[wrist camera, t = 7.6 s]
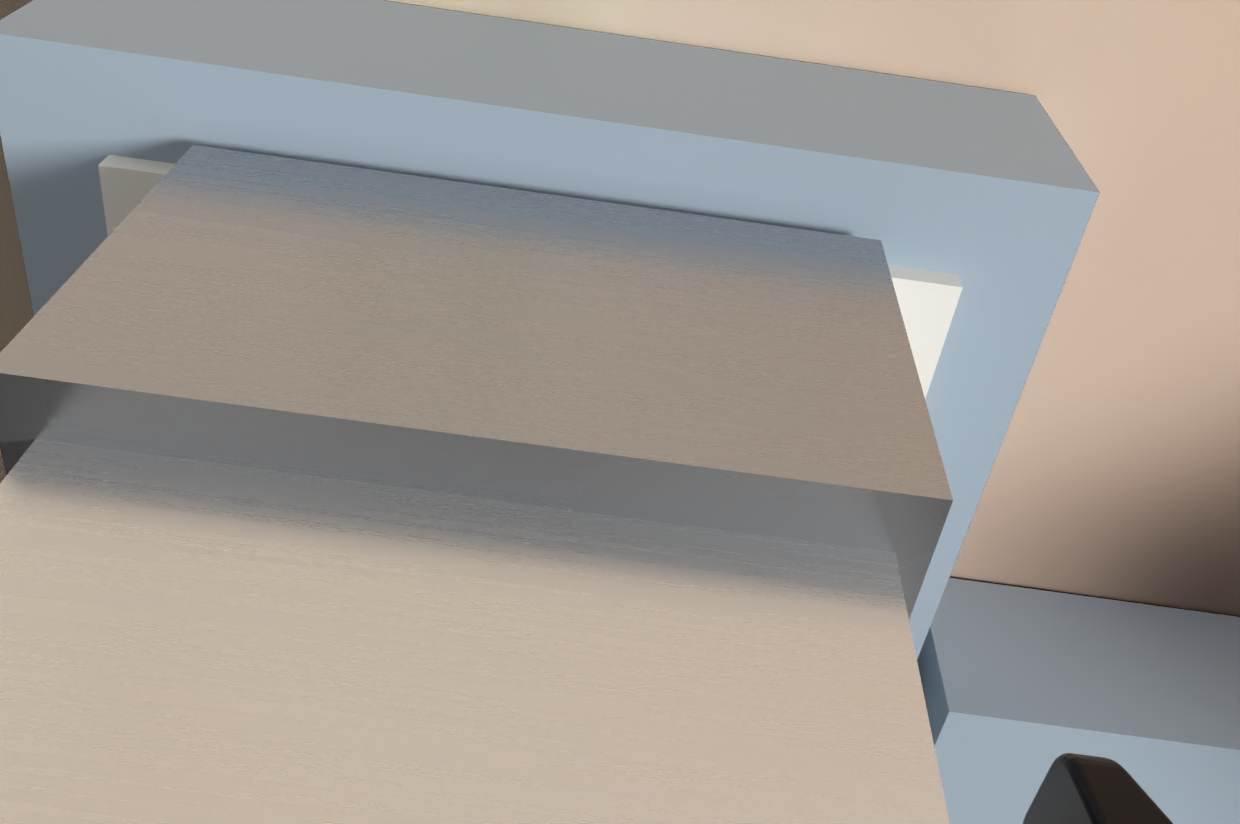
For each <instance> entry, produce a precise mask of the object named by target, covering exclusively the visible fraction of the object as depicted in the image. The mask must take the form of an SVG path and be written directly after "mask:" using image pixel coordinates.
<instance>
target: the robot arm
mask: <svg viewBox="0 0 1240 824" xmlns="http://www.w3.org/2000/svg"><path fill="white" fill-rule="evenodd" d="M1023 824H1173V823H1172V822H1171V820H1170V819H1169V818H1168V817H1167V816H1166V815H1165V814H1164V813H1163V811H1162V810H1161V809H1160V808H1159V807H1158V806H1157V805H1156V804H1155V802H1154V801H1153V800H1152V799H1151V798H1150V797H1149V796H1148V795H1147V793H1146V792H1145V791H1144V790H1143V789H1142V788H1141V787H1140V786H1139V784H1138V783H1137V782H1136V781H1135V780H1134V779H1133V778H1132V777H1131V775H1130V774H1129V773H1128V772H1127V771H1126V770H1125V769H1124V768H1123V767H1122V766H1121V765H1120V764H1118V763H1117V762H1115V761H1114V760H1111V759H1108V758H1104V757H1097V756H1089V755H1081V754H1074V753H1064V754H1062V755H1060V756H1059V757H1057V758H1056V759H1055V760H1054V762H1053V763H1052V765H1051V767H1050V769H1049V771H1048V772H1047V774H1046V776H1045V778H1044V780H1043V782H1042V784H1041V786H1040V788H1039V790H1038V792H1037V794H1036V796H1035V797H1034V799H1033V801H1032V803H1031V805H1030V807H1029V809H1028V811H1027V813H1026V815H1025V818H1024V821H1023Z"/></svg>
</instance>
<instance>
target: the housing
mask: <svg viewBox="0 0 1240 824" xmlns="http://www.w3.org/2000/svg"><path fill="white" fill-rule="evenodd" d="M0 448H1V452H2V457H3V461H4V465H5V470H6V474H7V476H6V477H5V478H4V480H3V481H2V482H1V483H0V824H950V822H949V817H948V812H947V807H946V802H945V797H944V792H943V787H942V782H941V777H940V772H939V767H938V762H937V757H936V752H935V747H934V742H933V737H932V732H931V728H930V723H929V718H928V713H927V708H926V703H925V698H924V693H923V688H922V683H921V678H920V673H919V668H918V663H917V658H916V653H915V648H914V643H913V638H912V633H911V628H910V623H909V619H910V616H911V613H912V611H913V608H914V605H915V602H916V600H917V597H918V594H919V592H920V589H921V586H922V583H923V581H924V578H925V575H926V573H927V570H928V567H929V565H930V562H931V559H932V556H933V554H934V551H935V548H936V546H937V543H938V540H939V537H940V535H941V532H942V529H943V527H944V524H945V521H946V518H947V516H948V513H949V510H950V508H951V505H952V502H953V498H952V494H951V491H950V487H949V484H948V480H947V476H946V473H945V469H944V466H943V462H942V458H941V455H940V451H939V448H938V444H937V440H936V437H935V433H934V430H933V426H932V422H931V419H930V415H929V411H928V408H927V404H926V401H925V397H924V393H923V390H922V386H921V383H920V379H919V375H918V372H917V368H916V365H915V361H914V357H913V354H912V350H911V347H910V343H909V339H908V336H907V332H906V329H905V325H904V321H903V318H902V314H901V310H900V307H899V303H898V300H897V296H896V292H895V289H894V285H893V282H892V278H891V274H890V271H889V267H888V264H887V260H886V256H885V253H884V249H883V246H882V242H881V240H876V239H869V238H862V237H854V236H847V235H840V234H833V233H826V232H818V231H811V230H804V229H797V228H789V227H782V226H775V225H768V224H761V223H753V222H746V221H739V220H732V219H725V218H717V217H710V216H703V215H696V214H688V213H681V212H674V211H667V210H660V209H652V208H645V207H638V206H631V205H623V204H616V203H609V202H602V201H595V200H587V199H580V198H573V197H566V196H559V195H551V194H544V193H537V192H530V191H522V190H515V189H508V188H501V187H494V186H486V185H479V184H472V183H465V182H457V181H450V180H443V179H436V178H429V177H421V176H414V175H407V174H400V173H393V172H385V171H378V170H371V169H364V168H356V167H349V166H342V165H335V164H328V163H320V162H313V161H306V160H299V159H291V158H284V157H277V156H270V155H263V154H255V153H248V152H241V151H234V150H227V149H219V148H212V147H205V146H198V145H192V146H191V148H190V149H189V150H188V151H187V152H186V153H185V154H184V155H183V156H182V157H181V158H180V159H179V160H178V162H177V163H176V164H175V165H174V166H173V167H172V168H171V169H170V170H169V171H168V172H167V173H166V175H165V176H164V177H163V178H162V179H161V180H160V181H159V182H158V183H157V184H156V185H155V186H154V187H153V189H152V190H151V191H150V192H149V193H148V194H147V195H146V196H145V197H144V198H143V199H142V200H141V201H140V203H139V204H138V205H137V206H136V207H135V208H134V209H133V210H132V211H131V212H130V213H129V214H128V215H127V217H126V218H125V219H124V220H123V221H122V222H121V223H120V224H119V225H118V226H117V227H116V228H115V229H114V231H113V232H112V233H111V234H110V235H109V236H108V237H107V238H106V239H105V240H104V241H103V242H102V243H101V245H100V246H99V247H98V248H97V249H96V250H95V251H94V252H93V253H92V254H91V255H90V256H89V258H88V259H87V260H86V261H85V262H84V263H83V264H82V265H81V266H80V267H79V268H78V269H77V270H76V272H75V273H74V274H73V275H72V276H71V277H70V278H69V279H68V280H67V281H66V282H65V283H64V284H63V286H62V287H61V288H60V289H59V290H58V291H57V292H56V293H55V294H54V295H53V296H52V297H51V298H50V300H49V301H48V302H47V303H46V304H45V305H44V306H43V307H42V308H41V309H40V310H39V311H38V312H37V314H36V315H35V316H34V317H33V318H32V319H31V320H30V321H29V322H28V323H27V324H26V325H25V326H24V328H23V329H22V330H21V331H20V332H19V333H18V334H17V335H16V336H15V337H14V338H13V339H12V341H11V342H10V343H9V344H8V345H7V346H6V347H5V348H4V349H3V350H2V351H1V352H0Z"/></svg>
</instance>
